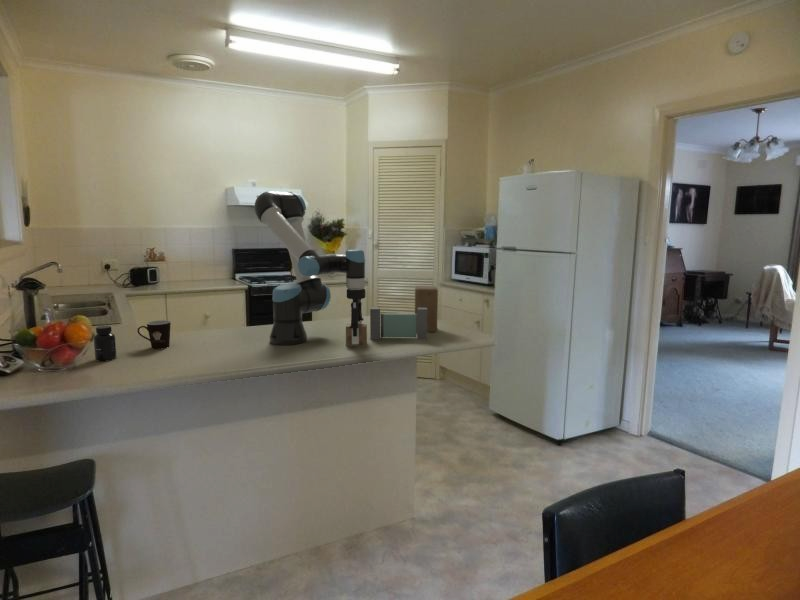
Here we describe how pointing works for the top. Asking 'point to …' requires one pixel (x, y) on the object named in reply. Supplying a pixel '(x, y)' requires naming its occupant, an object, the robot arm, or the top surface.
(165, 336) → the coffee mug
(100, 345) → the supplement bottle
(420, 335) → the post
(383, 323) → the gate
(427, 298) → the wooden block
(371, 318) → the hinge post
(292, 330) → the robot arm
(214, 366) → the top surface
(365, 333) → the brown rectangular block
